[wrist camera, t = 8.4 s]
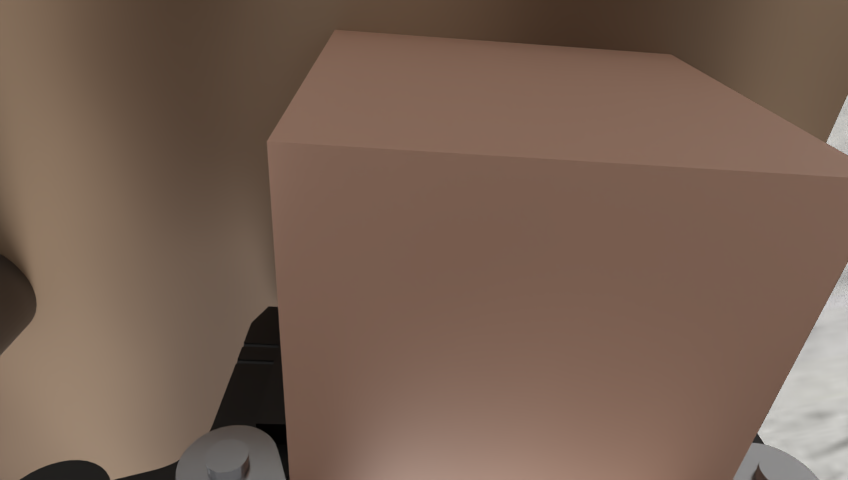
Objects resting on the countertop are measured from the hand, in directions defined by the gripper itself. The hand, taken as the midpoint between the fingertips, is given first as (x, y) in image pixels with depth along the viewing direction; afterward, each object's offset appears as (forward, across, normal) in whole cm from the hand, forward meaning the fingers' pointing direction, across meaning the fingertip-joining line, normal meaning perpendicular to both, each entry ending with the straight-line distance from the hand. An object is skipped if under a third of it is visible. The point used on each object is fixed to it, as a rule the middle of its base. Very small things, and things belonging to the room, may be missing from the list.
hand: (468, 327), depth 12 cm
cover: (+1, 0, 0) cm, 1 cm away
